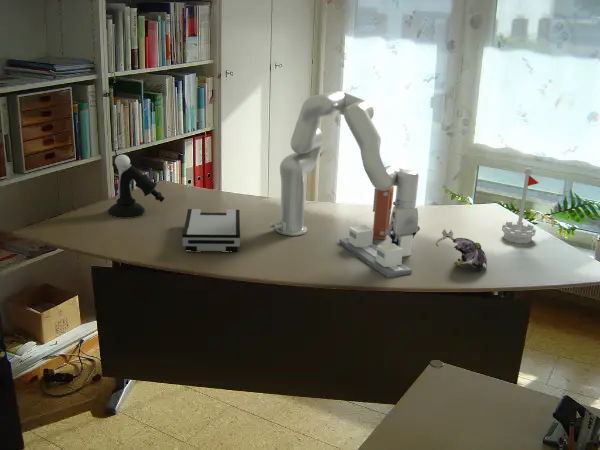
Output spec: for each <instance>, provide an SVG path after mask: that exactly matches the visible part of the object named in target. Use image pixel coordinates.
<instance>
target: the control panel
mask: <svg viewBox="0 0 600 450" xmlns="http://www.w3.org/2000/svg"><path fill="white" fill-rule="evenodd" d="M394 187H395V186H393V187H391V188H390V189H388V190H386V191H380V190H378V189H376V188H375V187H374V192H373V193H374V194H373V195H374V196H373V207H372V212H374V215H373V226H372V227H373V228H372V230H373V239H381V240H387V236H388V235H387V234H386V233H385V232H386V230H387V229H388V228H389V226H390V220H391V214H392V209H393V202H394V201H393V198H394Z"/></svg>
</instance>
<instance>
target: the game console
mask: <svg viewBox="0 0 600 450" xmlns="http://www.w3.org/2000/svg"><path fill="white" fill-rule="evenodd" d="M185 217H186V218H185V223H184V227H183V230H182V247H184V250H185V251H186V250H191V251H202V252H205V251H206V252H207V251H208V252H209V251H210V252H212V251H213V252H214V251H215V252H217V251H218V252H221V251H229V252H228V253H232V252H238V251H239V250H238V249H239V247H241V225H240V224H241V223H240V222H241V221H240V209H226V212H202V209H200V208H198V209H197V208H188V209H187V213H186V216H185ZM230 251H232V252H230ZM238 253H239V252H238Z"/></svg>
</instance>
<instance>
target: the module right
mask: <svg viewBox="0 0 600 450" xmlns="http://www.w3.org/2000/svg"><path fill="white" fill-rule="evenodd" d="M376 246H377V253H376V262H378V263H379V264H381V265H382V266H383V267H390V266H396V265H401V263H403V262H402V260H403V256H402V252H403V249H402V248H400V247H399V246H397V245H396V244H394V243H392V242H391V243H387V244H386V243H385V244H380V245H376Z"/></svg>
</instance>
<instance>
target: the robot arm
mask: <svg viewBox="0 0 600 450" xmlns="http://www.w3.org/2000/svg"><path fill="white" fill-rule="evenodd" d="M374 113H375V112H374V107H373V106H372V104H371V103H370V102H368V101H367V100H364V99H363V98H359V97H358V96H354V95H353V94H350V93H347V92H344V91H341V90H331V91H328V92H325V93H321V94H316V95H311V96H309V97H308V98H306V100H305V101H304V102H303V104H302V105H301V109H300V112H299V114H298V117H297V121H296V123H295V126H294V130H293V132H292V135H291V139H290V148H291V150H292V151H293V152H294V153H291V154H288V155H287V156H286V157H284V158H283V159H282V160H281V162H280V165H279V175H280V214H279V215H280V216H279V218H277V220H276V221H275V222H269V223H268V227H269V229H271V228H274V229H275V230H276V231H275V232H277V233H279V234H280V235H284V236H292V237H293V236H301V235H304V234H306V233H307V232H308V227H307V226H306V225H304V222H305V221H304V219H305V202H306V201H305V200H306V199H305V198H306V197H305V196H306V186H305V185H306V184H305V179H304V176H305V175H306V174H307V175H308V173H310V172H311V171H312V170H313V169H314V167H315V165H316V163H317V161H318V157H319V154H320V152H321V149H322V145H323V141H324V136H323V133H322V131H321V128H319V127H320V123H321V118H322V117H330V116H333V115H334V116H335V115H337V114H339V115H342V116H343V118H344V121H345V122H346V125H347V127H348V129H349V130H350V132H351V134H352V136H353V137H354V140H355V142H356V144H357V145H358V147H359V150H360V155H361V162H362V167H363V168H364V172H365V173H366V175H367V177H368V180H369V181H370V183H371V184H372V186H373V187H374V189H375V188H376V189H378V190H380V191H386V190H388V189H390V188H391V187H396V192H395V200H394V201H392V210H391V215H390V217H391V218H390V226H389V228H388V229H387V230H386V232H385V233H386V234H387V236H388V237H389V238H390V239H391V244H392V243H394V244H396V245H397V246H398V241H397V239H398V237H399V235H402V234H411V235H413V239H414V237H415V236H416V234H417V233H418V232H419V231H420V230H421V228H420V226H419V210H418V207H417V197H418V186H419V179H420V178H419V173H418V172H417V171H416V170H414V169H412V170H411V169H403V168H401V167H398V166H394V165H386V166H385V165H384V162H383V160H382V157H381V151H380V149H381V144H382V143H381V142H382V141H381V140H382V139H381V136H380V133H379V132H378V130H377V128H376V127H375V124H374V123H373V121H372V119H373V117H374ZM395 234H396V235H395Z"/></svg>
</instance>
